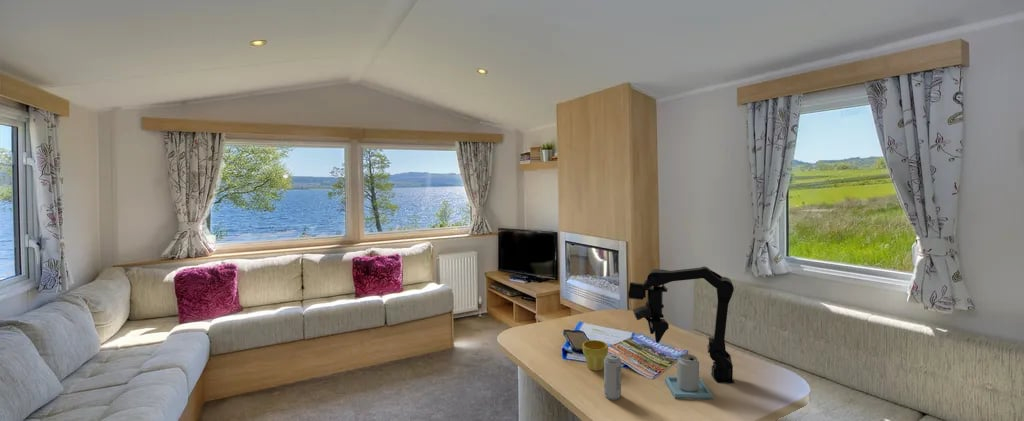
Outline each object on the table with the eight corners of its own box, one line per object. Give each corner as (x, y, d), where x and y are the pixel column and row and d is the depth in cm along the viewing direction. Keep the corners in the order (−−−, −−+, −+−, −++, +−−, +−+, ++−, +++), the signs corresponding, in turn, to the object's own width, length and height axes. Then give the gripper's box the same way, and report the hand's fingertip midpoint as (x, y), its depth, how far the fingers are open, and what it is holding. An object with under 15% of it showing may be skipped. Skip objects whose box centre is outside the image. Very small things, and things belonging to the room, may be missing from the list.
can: (700, 394, 154) (701, 362, 153) (678, 392, 155) (679, 360, 154) (696, 384, 161) (697, 353, 160) (675, 382, 163) (675, 352, 162)
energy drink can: (606, 390, 159) (607, 351, 157) (623, 394, 156) (623, 354, 154) (601, 398, 154) (601, 357, 152) (618, 402, 151) (618, 361, 149)
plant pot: (582, 361, 184) (582, 339, 183) (606, 362, 182) (606, 340, 181) (583, 372, 173) (582, 349, 173) (609, 373, 172) (609, 350, 171)
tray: (699, 381, 164) (699, 377, 164) (712, 399, 151) (712, 394, 151) (664, 380, 165) (664, 376, 165) (674, 398, 152) (674, 393, 152)
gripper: (630, 294, 183) (630, 329, 185) (639, 308, 165) (639, 347, 166) (656, 294, 182) (656, 329, 184) (669, 308, 164) (668, 347, 165)
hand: (654, 338), depth 175 cm, fingers open, 9 cm apart
